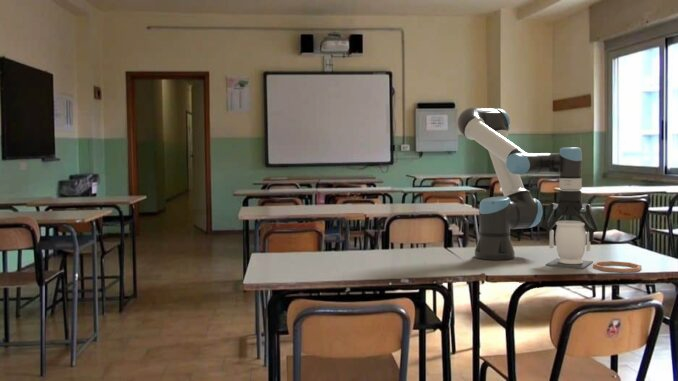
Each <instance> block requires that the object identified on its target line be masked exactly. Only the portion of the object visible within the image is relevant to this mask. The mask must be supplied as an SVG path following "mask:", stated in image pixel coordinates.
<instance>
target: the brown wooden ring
mask: <svg viewBox="0 0 678 381" xmlns="http://www.w3.org/2000/svg"><path fill="white" fill-rule="evenodd" d="M609 265H610V266H623V267H626V268H623V267H622V268H621V267H607V266H609ZM627 267H628V268H627ZM592 268H593V269H597V270H599V271H602V272H614V273H636V272H637V271H639V270H640V271H641V270H642V264H637V263H633V262H630V261H629V262H627V261H618V260H617V261H615V260H609V261H608V260H606V261H596V262H595V263H594V262H593V263H592ZM640 271H639V272H640Z"/></svg>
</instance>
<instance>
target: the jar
mask: <svg viewBox="0 0 678 381" xmlns="http://www.w3.org/2000/svg"><path fill="white" fill-rule="evenodd" d="M584 225H585V224H584V223H582V222H581V221H580V220H559V221H557V222H556V224H555V226H556V229H555V234H554V235H555V236H554V238H555V239H554V240H555V245H556V246H555V247H556V253H557V254H558V257H559V260H558V262H559V263H563V264H582V263H583V261H584V260H583V261H582V258H583V256H584V254H585V250H586V246H587V232H586V227H585V226H584Z"/></svg>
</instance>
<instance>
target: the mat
mask: <svg viewBox="0 0 678 381" xmlns="http://www.w3.org/2000/svg"><path fill="white" fill-rule="evenodd" d="M559 259H560V257H559V258H555V259H553V260H551V261H549V262H547V263H545V267H554V268H566V267H568V268H567V269H579V270H584V269H586V268H587V267H589V266H590V265H593V264H594V261H592V260H582V261H583V263H582V264H563V263H559V262H558V260H559Z"/></svg>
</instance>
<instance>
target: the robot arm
mask: <svg viewBox="0 0 678 381" xmlns="http://www.w3.org/2000/svg"><path fill="white" fill-rule="evenodd" d="M456 125H457V129H458V131H459V133H461V135H463V137H465V138H466V139H467V140H471V141H475V142H476V143H478V144H479V145H480V146H482V147H483V148H485V149H486V150H487V151H488V154H489V157H490V159H491V162H492V165H493V168H494V171H495V174H496V177H497V180H498V182H499V186H500V188H501V191H502V193H503V196H492V197H486V198H483V199H482V200H481V201H480V202H479V209H478V212H479V213H478V214H479V216H478V217H479V222H478V223H479V226H478V228H479V230H478V231H479V234H478V240H477V243H476V245H475V249H474V257H475V258H477V259H479V260H481V259H482V260H491V261H506V260H507V261H508V260H513V259H515V250H514V246H513V243H512V239H511V230H517V229H529V228H533V227H536V226H537V225H538V224H539V223H540V222H541V221H542V220H541V219H542V217H543V206H542V203H541V201H540V200H539V199H537V198H534V197H533V196H532V193H531V191H530V190H528V189H526V188H525V186H524V184H523V181H522V178H521V175H528V174H529V175H530V174H531V175H532V174H559V185H558V186H559V192H558V193H559V194H558V196H559V198H558V203H555V202H553V203H552V202H551V203H550V204H549V210H548V211H547V214H546V216H545V218H544V221H543V223H542V225H541V228H542V229H545V230H546V239H547V240H549V249H553V248H554V246H555V244H554V240H555V239H554V238H555V236H554V235H555V230H554V229H553V228H554V227H555V226H556V222H557V221H560V220H561V218H563V216H565V217H568V216H570V217H575V216H576V217H577V218H578V219H579V221H581V222H582V223H584V224H585V225H584V227H585V230H587V231H588V232H586V247H585V250H586V252H590V251H591V242H594V238H595V237H594V236H595V233H596V232H598V231H599V230H600V227H599V225H598V223H597V220H596V218H595V216H594V214H593V211H592V205H591V204H589V203H588V204H583V203H582V191H581V190H582V187H583V186H582V183H583V182H582V171H583V170H582V167H583V153H582V149H581V148H580V147H576V146H575V147H573V146H572V147H561V148H559V152H540V153H539V152H538V153H537V152H535V153H534V152H526V151H525V150H523V149H522V148H520V147H519V146H517V145H516V144H515V143H513V142H512V141H510V140H509V139H507V137H508V135H509V130H510V128H511V120H510V117H509V115H508V113H507V112H506V110H504V109H501V108H496V107H467V108H466V109H464V110H463V111H462V112H461V113H460V114H459V116H458V118H457V123H456ZM557 208H558V210H559V212H558V213H557V215H556V216H555V217H554V218H553V220H552V221H551V222H550V220H551V219H552V216H553V215H554V212H555V210H556V209H557ZM582 209H583V210H584V211H585V212H586V214H587V217H588V219H589V221H590V223H591V224H590V223H589V222H588V220H587V219H586V218H585V216H584V215H583V213H582V212H581V210H582Z"/></svg>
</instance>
